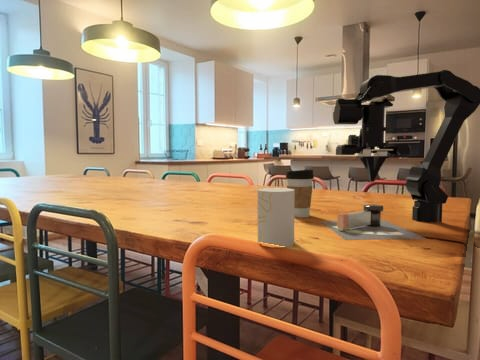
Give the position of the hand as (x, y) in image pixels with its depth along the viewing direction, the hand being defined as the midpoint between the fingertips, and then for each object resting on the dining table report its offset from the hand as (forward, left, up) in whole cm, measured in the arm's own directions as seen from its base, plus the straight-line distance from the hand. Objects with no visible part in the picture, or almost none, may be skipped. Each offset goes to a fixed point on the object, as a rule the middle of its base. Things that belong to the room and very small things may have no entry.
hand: (371, 181), depth 95 cm
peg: (+6, +8, -11) cm, 15 cm away
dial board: (+5, +10, -12) cm, 16 cm away
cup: (+29, +18, -12) cm, 36 cm away
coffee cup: (+18, -10, -12) cm, 24 cm away
